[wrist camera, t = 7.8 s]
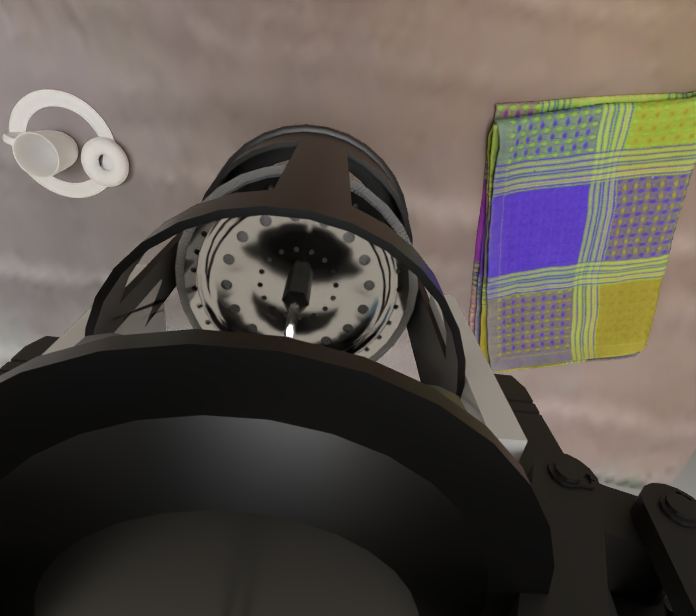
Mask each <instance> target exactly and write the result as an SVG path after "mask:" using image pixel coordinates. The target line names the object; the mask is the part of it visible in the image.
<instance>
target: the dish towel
mask: <svg viewBox="0 0 696 616" xmlns="http://www.w3.org/2000/svg"><path fill="white" fill-rule="evenodd" d="M695 163H696V91H695V92H691V93H660V94H636V95H615V96H600V97H579V98H569V99H557V100H547V101H531V102H517V103H497V104H495V115H494V123H493V127H492V129H491V131H490V133H489V135H488V149H487V161H486V167H485V175H484V186H483V196H482V202H481V209H480V216H479V221H478V229H477V238H476V247H475V258H474V265H473V276H472V293H471V304H470V314H469V327H470V329H471V331H472V332H473V334H474V336H475V338H476V340H477V342H478V344H479V346H480V348H481V350H482V352H483V354H484V356H485V358H486V360H487V362H488V364H489V366H490V368H491V370H492V372H504V371H511V370H518V369H529V368H539V367H551V366H559V365H565V364H570V363H578V362H587V361H606V360H615V359H623V358H629V357H634V356H636V355H637V354H638V353H640V351H642V350H644V349H645V347H646V345H647V341H648V338H649V333H650V331H651V326H652V322H653V317H654V314H655V311H656V307H657V301H658V298H659V291H660V287H661V283H662V279H663V277H664V274H665V270H666V266H667V262H668V258H669V253H670V250H671V244H672V240H673V235H674V231H675V229H676V224H677V220H678V218H679V214H680V210H681V208H682V204H683V200H684V198H685V195H686V191H687V187H688V184H689V180H690V177H691V174H692V170H693V168H694V165H695Z"/></svg>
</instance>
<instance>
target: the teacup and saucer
mask: <svg viewBox="0 0 696 616" xmlns="http://www.w3.org/2000/svg"><path fill="white" fill-rule="evenodd" d="M48 106H58V107H63V108H67V109H69V110H72V111H74V112H75V113H77V114H79V115H80V116H82V117H83V118H84V119H85V120H86V121H87V122H88V123H89V124H90V125H91V126H92V127H93V129H94V130H95V132H96V133H97V135H98V137H96V138H92V139H90V140H89V141H87V142H86V143H85V145H84V146H83V148H82V151H81V163H82V166H83V168H84V170H85V172H86V173H87V175H88V176H89V177H90V178H91V179H90V180H88V181H86V182H82V183H68V182H64V181H61V180H58V179H56V178H54V177H53V175H55V174H57V173H59V172H61V171H63V170H65V169H67V168H68V167H70V166H71V165H72V164H74V162H75V161H76V160H77V158H78V154H79V150H78V146H77V144H76V142H75V141H74V140H73V139H72V138H71V137H70V136H69V135H67V134H65V133H63V132H59V131H54V130H39V131H29V132H26V126H27V123H28V121H29V119H30V117H31V116H32V115H33V114H34V113H35V112H36V111H37V110H39V109H41V108H44V107H48ZM3 141H4V142H5V143H7V144H9V145H11V146H12V150H13V155H14V157H15V160H16V161H17V163H18V164H19V166H20V167H21V168H22V169H23V170H24V171H26V172H27V173H28V174H29V175H30V176H31V177H32V178H33V179H34V180H35V181H37V182H38V183H39V184H40V185H42V186H43V187H45V188H47V189H48V190H50V191H52V192H54V193H57V194H60V195H63V196H67V197H72V198H85V197H90V196H93V195H96V194H98V193H100V192H101V191H103V190H104V189H105V188H106V187H115V186H118V185H120V184H121V183H122V182H124V181H125V179H126V178H127V176H128V172H129V162H128V159H127V156H126V154H125V152H124V151H123V149H122V148H121V147H120V146H119V145H118V144H117V143H115V140H114V138H113V135H112V133H111V131H110V129H109V127H108V126H107V124H106V123H105V121H104V120H103V119H102V117H101V116H100V115H99V114H98V113H97V112H96V111H95V110H94V109H93V108H92V107H91V106H90V105H88V104H87V103H86V102H84V101H83V100H81V99H79V98H78V97H76V96H74V95H72V94H69V93H66V92H63V91H59V90H51V89H45V90H38V91H34V92H31V93H29V94H27V95H26V96H24V97H23V98H22V99H20V100H19V101H18V103H17V104H16V105H15V107H14V109H13V111H12V113H11V116H10V120H9V132H5V133H4V134H3ZM53 147H54V149H55V151H56V152H55V151H54V149H53ZM56 153H57V154H56ZM101 154H103V161H102V165H101V166H100V164H99V156H101Z"/></svg>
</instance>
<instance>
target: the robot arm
mask: <svg viewBox="0 0 696 616" xmlns="http://www.w3.org/2000/svg"><path fill="white" fill-rule="evenodd" d="M146 266H147V264H137V265H136V267H135V268H134V270H133V271H132V273H131V274H130V276H129V278H128V281H127V284H126V286H127V285H128V284H129V283H130V282H131V281H132V280H133V279H134V278H135V277H136V276H137V275H138V274H139V273H140V272H141V271H142V270H143V269H144V268H145V267H146ZM161 283H162V279H161V280H160V281H159V282H158V283H157V285H156V286H155V287H154V288H153V289H152V290H151V291H150V293H149V294H148V295H147V296H146V297H145V298H144V299H143V301H142V302H141V303H140V304H139V305H138V306H137V307H136V308H135V310H134V311H133V312H132V313H131V314H130V315H129V316H128V318H127V319H126V320H125V321H124V322H123V323H122V324H121V326H120V327H119V328H118V329H117V330H116V331H115V332H114V333H117V334H121V335H130V334H142V333H154V332H166V324H165V312H164V303H163V304H162V305H161V307H160V308H159V309H158V311H157V312H156V313H155V315H154V316H153V317H152V319H151V320H150V321H149V323H148V324H147V325H146V323H147V320H148V318H149V315H150V312H151V310H152V307H153V304H154V302H155V299H156V296H157V294H158V291H159V288H160V286H161ZM126 286H125V287H126ZM444 297H445V299H446V301H447V303H448V305H449V307H450V310H451V312H452V314H453V316H454V318H455V320H456V323H457V325H458V327H459V329H460V334H461V339H462V344H463V349H464V354H465V359H466V367H465V386H464V389H463V392H462V396H461V399H460V400H461V401H462V403H463V405H464V407H465V409H466V411H467V412H468V413H469V414H471V415H472V416H473V417H475V418H476V419H478V420H479V421H480V422H482V423H483V424H485V425H486V426H487V427H488V428H489V429H490V430H491V432H492V433H493V434H494V435H495V436H496V437H497V438H498V440H499V441H500V442H501V443H502V444H503V445H504V446H505V448H506V449H507V450H508V451H509V452H510V453H511V454H512V456H513V457H514V458H515V459H516V460H517V461H518V463H519V464H520V465H521V466H522V467H523V469H524V471H525V474H526V476H527V478H528V480H529V482H530V484H531V487H532V489H533V491H534V493H535V495H536V497H537V499H538V502H539V504H540V506H541V508H542V510H543V512H544V515H545V517H546V519H547V521H548V523H549V526H550V530H551V538H552V547H553V556H554V565H555V568H554V572H553V576H552V581H551V585H550V590H549V594H533V593H520V594H519V596H518V598H517V599H516V601H515V603H514V605H513V607H512V609H511V611H510V613H509V615H508V616H696V500H695V499H694V498H693V497H692V496H690V495H688V494H687V493H685V492H683V491H681V490H679V489H677V488H675V487H672V486H669V485H666V484H660V483H651V484H648V485H645V486H644V487H643V489H642V491H641V492H640V494H639V495H638V496H635V495H632V494H629V493H626V492H623V491H619V490H616V489H613V488H610V487H607V486H604V485H602V484H599V482H598V479H597V477H596V476H595V475H594V473H593V472H592V471H591V470H590V469H589V468H588V467H587V466H586V465H584V464H583V463H582V462H581V461H579V460H578V459H576V458H574V457H572V456H570V455H568V454H564V453H563V452H562V450H561V448H560V447H559V445H558V443H557V442H556V440H555V438H554V436H553V435H552V433H551V431H550V430H549V428H548V426H547V424H546V423H545V421H544V419H543V418H542V416H541V415H539V411H538V409H537V407H536V406H535V404H533V400H532V399H531V397H530V395H529V394H528V392H527V390H526V389H525V387H524V386H522V385H521V384H520V383H519V382H518V381H517V380H516V379H515V378H513V377H512V376H511V375H500V374H493V372H492V370H491V368H490V366H489V364H488V362H487V360H486V358H485V356H484V354H483V352H482V350H481V348H480V346H479V344H478V342H477V340H476V338H475V336H474V334H473V332H472V331H471V329H470V327H469V325H468V323H467V321H466V319H465V317H464V315H463V313H462V311H461V309H460V307H459V305H458V303H457V301H456V299H455V297H454V295H445V294H444ZM429 304H430V306H431V309H432V311H433V314H434V317H435V319H436V322H437V324H438V327H439V330H440V332H441V335H442V337H443V340H444V342H445V345H446V329H445V325H444V320H443V315H442V311H441V309H440V306H439V304H438V303H437V301H436V300H435V299H434V297H433V296H432V295H431V297H430V301H429ZM91 309H92V307H91V308H90V309H89V310H88V311H86V312H85V313H84V314H83V315H82V316H81V317H80V318H79V319H78V320H77V321H76V322H75V323H74V324H73V325H72V326H71V327H70V328H69V329H68V330H67V331H66V332H65V333H64V334H63V335H62V336H61V337H51V336H45V337H43V338H41V339H39V340H37V341H35V342H33V343H31V344H29V345H27V346H25V347H24V348H23V349H22V350H21V351H20V352H18V353H17V354H16V355H15V356H14V357H13V358H12V359H11V362H7V363H6V364H5V365H4V366H3V367H2V368H1V369H0V376H1V375H2V374H4V373H6V372H8V371H10V370H12V369H14V368H16V367H18V366H20V365H22V364H24V363H25V362H27V361H29V360H31V359H33V358H35V357H37V356H41V355H44V354H48V353H52V352H55V351H59V350H63V349H66V348H70V347H73V346H75V345H76V344H77V343H78V342H79V341H81V340H82V339H83V338H84V337H85V328H86V324H87V321H88V318H89V315H90V312H91ZM145 326H146V327H145Z"/></svg>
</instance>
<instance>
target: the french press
mask: <svg viewBox="0 0 696 616" xmlns="http://www.w3.org/2000/svg"><path fill="white" fill-rule="evenodd" d="M289 159H290V160H289ZM286 160H289V162H288V164H287V165H282V166H272V165H274V164H276V163H279V162H283V161H286ZM270 166H271V167H270ZM349 172H351V173H352V174H353V175H354V176H355V177H357V178H358V179H359V180H360V181H361V182H362V183H363V184H364V185H365V187H364V186H363V185H361V184H359V183H357V182H355V181H354V180H352V179H350V178H349ZM176 234H177V235H176ZM174 235H176V236H175V237H174V238H173V239H172V240H171V241H170V242H169V243H168V244H167V245H166V246H165V247H164V248H163V249H162V250H161V251H160V252H159V253H158V254H157V256H156V257H155V258H154V259H153V260H152V261H151V262H150V263H149V264H148V265H147V266H146V267H145V268H144V269H143V270H142V271H141V272H140V273H139V274H138V275H137V276H136V277H135V278H134V279H133V280H132V281H131V282H130V283H129V284H128V285H127V286H126V284H127V281H128V278H129V276H130V274H131V273H132V271H133V270H134V268H135V267H136V265H137V264H138V262H139V261H140V259H141V258H142V256H143V255H144V253H145V252H146V251H148V250H149V249H150V248H152V247H154V246H156V245H158V244H159V243H161V242H163V241H165V240H167V239H169V238H170V237H172V236H174ZM161 279H162V283H161V286H160V288H159V291H158V294H157V296H156V299H155V302H154V304H153V307H152V310H151V312H150V315H149V318H148V320H147V323H146V325H147V324H148V323H149V321H150V320H151V319H152V317H153V316H154V315H155V313H156V312H157V311H158V309H159V308H160V307H161V305H162V304H163V303H164V301H165V300H166V299H167V297H168V296H169V295H170V293H171V292H172V291H173V289H174V288H175V287H176V285H177V290H178V294H179V297H180V300H181V304H182V307H183V310H184V312H185V314H186V315H187V317H188V319H189V321H190V323H191V325H192V327H193V328H194V329H191V330H178V331H166V332H154V333H142V334H130V335H121V334H117V333H114V332H115V331H116V330H117V329H118V328H119V327H120V326H121V324H122V323H123V322H124V321H125V320H126V319H127V318H128V316H129V315H130V314H131V313H132V312H133V311H134V310H135V308H136V307H137V306H138V305H139V304H140V303H141V302H142V301H143V299H144V298H145V297H146V296H147V295H148V294H149V293H150V291H151V290H152V289H153V288H154V287H155V286H156V285H157V283H158V282H159V281H160V280H161ZM125 286H126V287H125ZM424 286H425V287H426V289H427V290H428V291H429V292H430V294H431V295H432V296H433V297H434V299H435V300H436V301H437V303H438V304H439V306H440V309H441V311H442V315H443V320H444V325H445V329H446V345H445V342H444V340H443V337H442V335H441V332H440V330H439V327H438V324H437V322H436V319H435V317H434V314H433V311H432V309H431V306H430V304H429V301H430V300H429V298H428V295H427V292H426V290H425V287H424ZM406 326H407V330H408V334H409V338H410V342H411V346H412V349H413V353H414V357H415V361H416V365H417V369H418V373H419V376H420V380H421V382H419V381H417V380H415V379H413V378H411V377H408V376H406V375H404V374H402V373H399V372H397V371H395V370H393V369H391V368H388V367H386V366H384V365H382V364H380V363H377V362H375V361H377V360H378V359H379V358H381V357H382V356H383V355H384V354H385V353H386V352H387V351H388V350H389V349H390V348H391V347H392V346H393V345H394V344H395V342H396V341H397V340H398V338H399V337H400V335H401V334H402V332H403V331H404V330H405V328H406ZM145 327H146V326H145ZM465 367H466V359H465V354H464V349H463V344H462V339H461V334H460V329H459V327H458V325H457V323H456V320H455V318H454V316H453V314H452V312H451V310H450V307H449V305H448V303H447V301H446V299H445V297H444V294H443V292H442V290H441V288H440V286H439V284H438V281H437V279H436V277H435V275H434V273H433V272H432V271H431V269H430V268H429V267H428V266H427V264H426V263H425V262H424V260H423V259H422V258H421V257H420V255H419V254H418V253H417V251H416V250H415V249H414V248H413V244H412V233H411V228H410V224H409V220H408V212H407V208H406V203H405V199H404V195H403V193H402V191H401V188H400V186H399V184H398V182H397V180H396V177H395V175H394V174H393V173H392V171H391V170H390V169H389V167H388V166H387V165H386V163H385V162H384V161H383V159H382V158H381V157H380V156H378V155H377V154H376V153H375V152H374V151H373V150H372V149H371V148H370V147H369V146H367V145H366V144H364V143H363V142H361V141H359V140H358V139H356V138H354V137H352V136H351V135H349V134H347V133H344V132H341V131H338V130H335V129H332V128H329V127H324V126H315V125H307V124H305V125H294V126H284V127H281V128H278V129H274V130H271V131H268V132H265V133H263V134H261V135H259V136H258V137H256V138H254V139H252V140H251V141H249V142H247V143H245V144H244V145H243V146H242V147H241V148H240V149H239V150H238V151H237V152H236V153H235V154H233V155H232V156H231V157H230V158H229V159H228V161H227V162H226V164H225V165H224V167H223V168H222V170H221V171H220V172H219V174H218V175H217V177H216V179H215V180H214V182H213V183H212V185H211V186H210V188H209V189H208V190H207V192H206V193H205V195H204V197H203V200H202V202H201V203H199V204H196V205H195V206H193V207H191V208H189V209H187V210H186V211H184V212H182V213H180V214H178V215H177V216H175V217H173V218H171V219H170V220H168V221H166V222H164V223H163V224H162V225H161V226H160V227H159V228H158V229H156V230H155V231H154V232H153V233H152V234H151V235H150V236H148V237H147V238H146V239H145V240H144V241H143V242H142V243H141V244H139V245H138V246H137V247H136V248H135V249H134V250H133V251H132V252H131V253H130V254H129V255H128V256H126V257H125V258H124V259H123V260H122V261H121V262H120V263H119V264H118V265H117V266H116V267H115V268H114V269H113V270H112V272H111V274H110V275H109V277H108V278H107V280H106V281H105V283H104V284H103V286H102V287H101V289H100V291H99V292H98V294H97V295H96V297H95V299H94V302H93V306H92V309H91V312H90V315H89V318H88V321H87V324H86V328H85V337H84V338H83V339H82V340H81V341H79V342H78V343H77V344H76V345H75V346H73V347H70V348H66V349H63V350H59V351H55V352H52V353H48V354H44V355H41V356H37V357H35V358H33V359H31V360H29V361H27V362H25V363H24V364H22V365H20V366H18V367H16V368H14V369H12V370H10V371H8V372H6V373H4V374H2V375H1V376H0V616H508V615H509V613H510V611H511V609H512V607H513V605H514V603H515V601H516V599H517V598H518V596H519V594H520V593H533V594H549V590H550V585H551V581H552V576H553V572H554V568H555V565H554V556H553V547H552V538H551V530H550V526H549V523H548V521H547V519H546V517H545V515H544V512H543V510H542V508H541V506H540V504H539V502H538V499H537V497H536V495H535V493H534V491H533V489H532V487H531V484H530V482H529V480H528V478H527V476H526V474H525V471H524V469H523V467H522V466H521V465H520V464H519V463H518V461H517V460H516V459H515V458H514V457H513V456H512V454H511V453H510V452H509V451H508V450H507V449H506V448H505V446H504V445H503V444H502V443H501V442H500V441H499V440H498V438H497V437H496V436H495V435H494V434H493V433H492V432H491V430H490V429H489V428H488V427H487V426H486V425H485V424H483V423H482V422H480V421H479V420H478V419H476V418H475V417H473V416H472V415H471V414H469V413H468V412H467V411H466V409H465V407H464V405H463V403H462V401H461V400H460V399H461V396H462V392H463V389H464V386H465Z"/></svg>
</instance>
